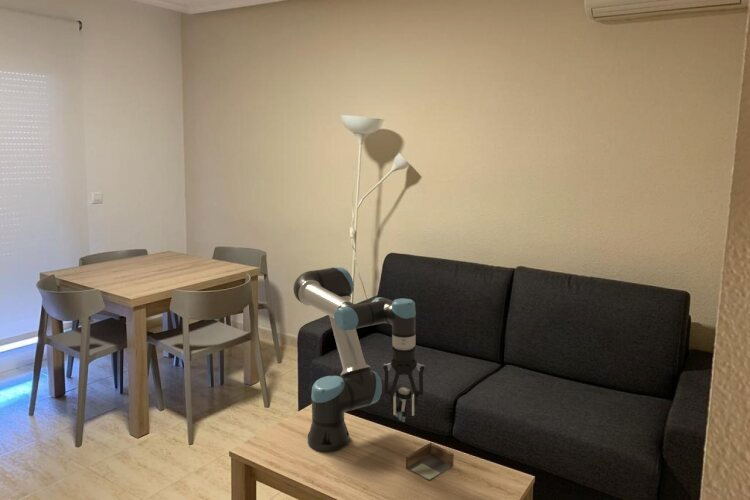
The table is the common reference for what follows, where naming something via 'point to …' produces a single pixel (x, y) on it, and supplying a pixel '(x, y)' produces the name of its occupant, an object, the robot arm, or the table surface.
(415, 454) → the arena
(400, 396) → the push button
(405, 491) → the table surface
